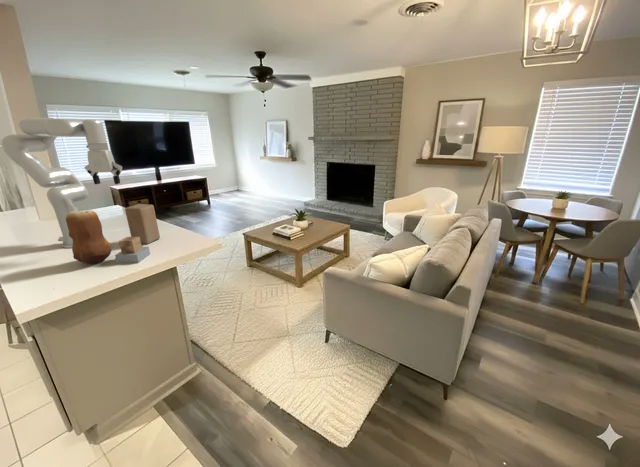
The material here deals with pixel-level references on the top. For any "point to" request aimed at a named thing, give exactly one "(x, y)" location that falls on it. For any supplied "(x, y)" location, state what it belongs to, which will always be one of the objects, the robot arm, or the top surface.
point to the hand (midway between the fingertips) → (107, 183)
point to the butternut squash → (87, 236)
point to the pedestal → (133, 256)
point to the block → (143, 222)
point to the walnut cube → (130, 244)
